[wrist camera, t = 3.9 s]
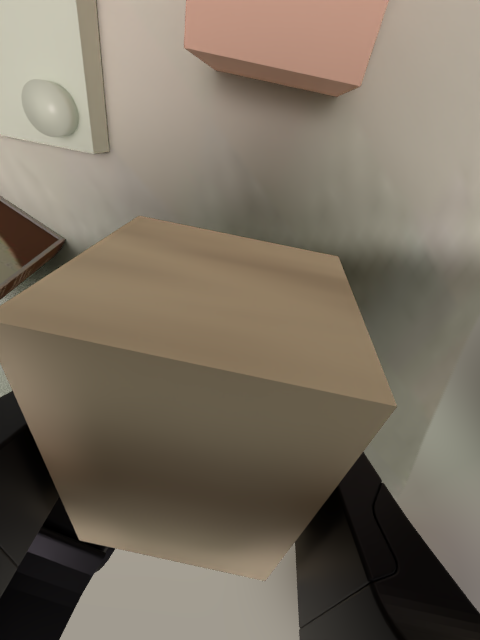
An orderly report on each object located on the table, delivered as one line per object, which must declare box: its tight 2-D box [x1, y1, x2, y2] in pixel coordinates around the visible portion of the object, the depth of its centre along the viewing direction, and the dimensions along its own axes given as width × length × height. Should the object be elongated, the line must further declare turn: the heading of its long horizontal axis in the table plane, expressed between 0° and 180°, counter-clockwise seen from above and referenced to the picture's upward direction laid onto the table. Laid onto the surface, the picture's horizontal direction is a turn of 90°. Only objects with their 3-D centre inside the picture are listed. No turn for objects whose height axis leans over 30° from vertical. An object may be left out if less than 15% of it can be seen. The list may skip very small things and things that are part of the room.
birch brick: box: [0, 216, 397, 581], centre depth 8 cm, size 8×6×5 cm
